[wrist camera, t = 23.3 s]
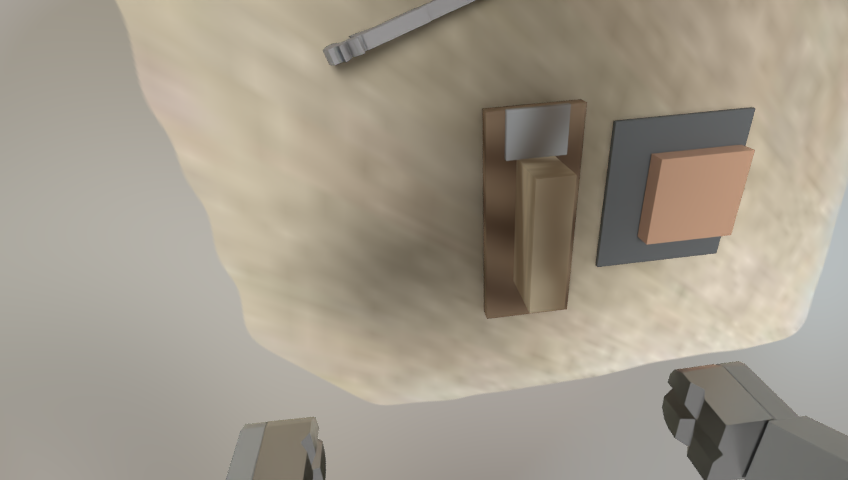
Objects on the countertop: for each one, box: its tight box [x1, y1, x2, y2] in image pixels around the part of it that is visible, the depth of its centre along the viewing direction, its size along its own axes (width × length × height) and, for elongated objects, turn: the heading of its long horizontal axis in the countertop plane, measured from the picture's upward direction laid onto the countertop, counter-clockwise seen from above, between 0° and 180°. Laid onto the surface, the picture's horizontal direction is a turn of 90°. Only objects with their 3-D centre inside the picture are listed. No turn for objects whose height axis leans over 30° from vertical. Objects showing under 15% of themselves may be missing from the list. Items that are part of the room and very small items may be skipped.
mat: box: [596, 107, 755, 267], centre depth 41 cm, size 14×12×1 cm
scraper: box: [505, 103, 577, 313], centre depth 37 cm, size 5×16×5 cm, turn 4°
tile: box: [638, 145, 755, 245], centre depth 41 cm, size 8×2×8 cm
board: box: [483, 99, 587, 319], centre depth 41 cm, size 20×8×1 cm, turn 4°
